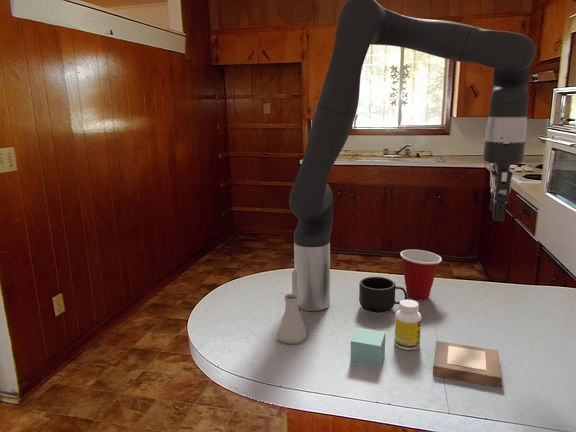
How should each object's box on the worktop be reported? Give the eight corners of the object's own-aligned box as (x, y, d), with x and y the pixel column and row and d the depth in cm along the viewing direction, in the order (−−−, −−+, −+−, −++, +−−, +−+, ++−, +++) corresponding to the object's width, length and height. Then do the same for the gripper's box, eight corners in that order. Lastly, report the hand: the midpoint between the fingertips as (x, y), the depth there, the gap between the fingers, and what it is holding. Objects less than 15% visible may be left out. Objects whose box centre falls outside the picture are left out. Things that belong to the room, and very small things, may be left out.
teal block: (350, 363, 91) (350, 341, 90) (356, 348, 97) (357, 327, 96) (379, 368, 89) (380, 346, 88) (384, 353, 95) (385, 332, 94)
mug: (357, 314, 112) (357, 288, 111) (360, 299, 121) (361, 275, 119) (406, 319, 109) (407, 292, 108) (406, 303, 118) (407, 278, 116)
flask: (311, 331, 104) (311, 292, 102) (302, 347, 98) (301, 305, 95) (282, 327, 107) (281, 288, 104) (271, 342, 100) (270, 301, 98)
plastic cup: (444, 305, 117) (446, 261, 114) (401, 304, 117) (403, 261, 115) (434, 288, 127) (436, 248, 124) (395, 288, 128) (397, 248, 125)
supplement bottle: (420, 352, 95) (423, 309, 92) (394, 349, 96) (396, 307, 93) (418, 339, 100) (421, 298, 98) (393, 337, 101) (395, 297, 99)
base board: (432, 374, 87) (433, 365, 86) (435, 349, 96) (436, 340, 95) (500, 387, 82) (501, 377, 82) (497, 359, 91) (498, 349, 91)
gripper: (483, 136, 100) (476, 207, 104) (486, 141, 87) (479, 222, 91) (521, 137, 97) (512, 209, 101) (530, 142, 84) (520, 225, 88)
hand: (496, 215), depth 96 cm, fingers open, 8 cm apart
